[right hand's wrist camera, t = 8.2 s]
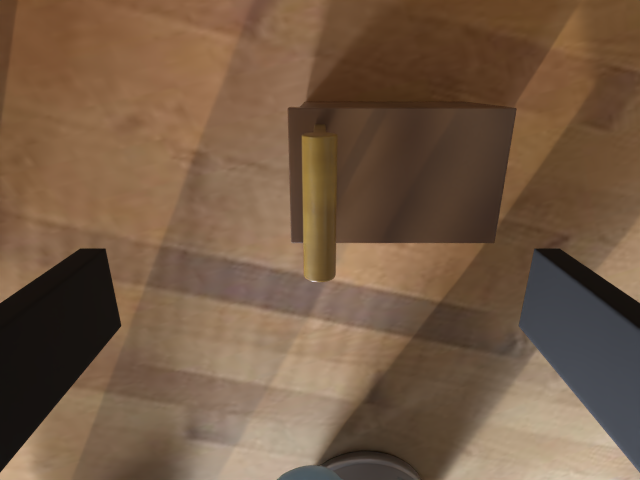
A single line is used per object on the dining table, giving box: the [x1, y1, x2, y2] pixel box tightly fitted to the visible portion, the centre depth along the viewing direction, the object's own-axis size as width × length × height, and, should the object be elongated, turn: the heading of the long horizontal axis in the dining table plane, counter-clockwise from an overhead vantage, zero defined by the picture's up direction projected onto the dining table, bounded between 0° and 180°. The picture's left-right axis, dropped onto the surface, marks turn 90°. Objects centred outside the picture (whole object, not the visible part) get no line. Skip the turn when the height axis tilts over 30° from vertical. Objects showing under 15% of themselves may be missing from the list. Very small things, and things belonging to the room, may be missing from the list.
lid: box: [288, 107, 516, 282], centre depth 24 cm, size 14×9×9 cm, turn 90°
